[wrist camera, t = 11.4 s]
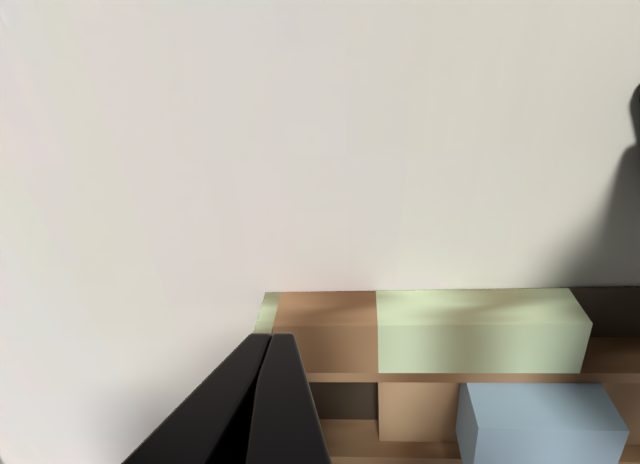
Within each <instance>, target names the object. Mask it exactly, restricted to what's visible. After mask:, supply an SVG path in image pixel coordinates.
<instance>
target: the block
mask: <svg viewBox="0 0 640 464" xmlns="http://www.w3.org/2000/svg"><path fill="white" fill-rule="evenodd" d="M455 431H456V435H457V440H458V445H459V449H460V454H461V459H462V463H463V464H618V462H619V459H620V457H621V454H622V451H623V449H624V446H625V443H626V441H627V438H628V435H629V433H630V430H629V429H628V427H627V425H626V424H625V422H624V420H623V419H622V417H621V415H620V414H619V412H618V410H617V409H616V407H615V406H614V404H613V402H612V401H611V399H610V397H609V396H608V394H607V392H606V391H605V389H604V387H603V386H602V384H601V383H461V384H460V393H459V402H458V411H457V420H456V429H455Z"/></svg>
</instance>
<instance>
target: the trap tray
mask: <svg viewBox="0 0 640 464" xmlns="http://www.w3.org/2000/svg"><path fill="white" fill-rule="evenodd" d="M253 333H270V334H272V335H273V334H275V333H293V334H294V335H295V338H296V341H297V345H298V348H299V352H300V355H301V359H302V362H303V366H304V369H305V372H306V376H307V379H308V383H309V386H310V390H311V393H312V397H313V400H314V403H315V407H316V410H317V414H318V417H319V421H320V424H321V428H322V431H323V435H324V438H325V441H326V445H327V448H328V452H329V455H330V459H331V462H332V464H463V463H462V459H461V454H460V449H459V445H458V440H457V435H456V431H455V429H456V420H457V411H458V402H459V393H460V384H461V383H601V384H602V386H603V387H604V389H605V391H606V392H607V394H608V396H609V397H610V399H611V401H612V402H613V404H614V406H615V407H616V409H617V410H618V412H619V414H620V415H621V417H622V419H623V420H624V422H625V424H626V425H627V427H628V429H629V430H630V433H629V435H628V438H627V441H626V443H625V446H624V449H623V451H622V454H621V457H620V459H619V462H618V464H640V287H584V288H522V289H460V290H398V291H336V292H273V293H265V296H264V299H263V302H262V306H261V309H260V312H259V316H258V319H257V322H256V326H255V329H254V332H253Z"/></svg>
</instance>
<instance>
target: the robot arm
mask: <svg viewBox="0 0 640 464" xmlns="http://www.w3.org/2000/svg"><path fill="white" fill-rule="evenodd" d="M638 97H639V102H640V87H639V89H638ZM121 464H332V462H331V459H330V455H329V452H328V448H327V445H326V441H325V438H324V435H323V431H322V428H321V424H320V421H319V417H318V414H317V410H316V407H315V403H314V400H313V397H312V393H311V390H310V386H309V383H308V379H307V376H306V372H305V369H304V366H303V362H302V359H301V355H300V352H299V348H298V345H297V341H296V338H295V335H294V334H293V333H275V334H273V335H272V334H270V333H252V334H250V335H249V336H248V337H247V338H246V339H245V340H244V341H243V342H242V343H241V344H240V345H239V346H238V347H237V348H236V349H235V350H234V351H233V352H232V353H231V354H230V355H229V356H228V357H227V358H226V359H225V360H224V361H223V362H222V363H221V364H220V365H219V366H218V367H217V368H216V369H215V370H214V371H213V372H212V373H211V374H210V375H209V376H208V377H207V378H206V379H205V380H204V381H203V382H202V383H201V384H200V385H199V386H198V387H197V388H196V389H195V390H194V391H193V392H192V393H191V394H190V395H189V396H188V397H187V398H186V399H185V400H184V401H183V402H182V403H181V404H180V405H179V406H178V407H177V408H176V409H175V410H174V411H173V412H172V413H171V414H170V415H169V416H168V417H167V418H166V419H165V420H164V421H163V422H162V423H161V424H160V425H159V426H158V427H157V428H156V429H155V430H154V431H153V432H152V433H151V434H150V435H149V436H148V437H147V438H146V439H145V440H144V441H143V442H142V443H141V444H140V445H139V446H138V447H137V448H136V449H135V450H134V451H133V452H132V453H131V454H130V455H129V456H128V457H127V458H126V459H125V460H124V461H123V462H122V463H121Z"/></svg>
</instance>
